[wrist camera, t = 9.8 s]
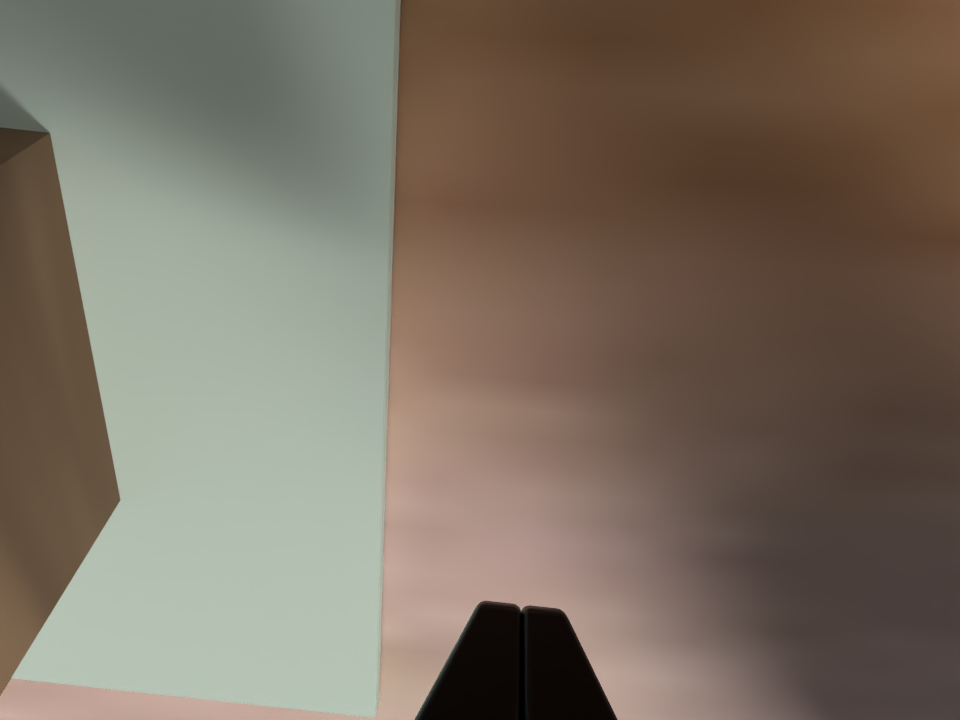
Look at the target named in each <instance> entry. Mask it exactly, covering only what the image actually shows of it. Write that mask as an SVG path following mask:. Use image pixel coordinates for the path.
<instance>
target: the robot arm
mask: <svg viewBox="0 0 960 720" xmlns="http://www.w3.org/2000/svg"><path fill="white" fill-rule="evenodd" d="M415 720H617V718H616V716H615V714H614V711H613V709H612V707H611V705H610V703H609V701H608V699H607V697H606V695H605V693H604V691H603V689H602V687H601V685H600V683H599V681H598V679H597V677H596V675H595V672H594V670H593V668H592V666H591V664H590V662H589V660H588V658H587V656H586V654H585V652H584V650H583V648H582V646H581V644H580V642H579V640H578V638H577V636H576V633H575V631H574V629H573V627H572V625H571V623H570V621H569V619H568V617H567V616H566V614H565V613H564V612H563V611H562V610H560V609H557V608H548V607H538V606H526V607H524V608H523V609H522V610H520V608H519V607H518V606H517V605H515V604H511V603H501V602H492V601H483V602H480V603H479V604H478V605H477V607H476V608H475V610H474V612H473V614H472V616H471V617H470V619H469V621H468V623H467V625H466V627H465V628H464V630H463V632H462V634H461V636H460V638H459V639H458V641H457V643H456V645H455V647H454V649H453V650H452V652H451V654H450V656H449V658H448V660H447V661H446V663H445V665H444V667H443V669H442V671H441V672H440V674H439V676H438V678H437V680H436V681H435V683H434V685H433V687H432V689H431V691H430V692H429V694H428V696H427V698H426V700H425V702H424V703H423V705H422V707H421V709H420V711H419V713H418V714H417V716H416V718H415Z"/></svg>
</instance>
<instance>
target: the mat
mask: <svg viewBox="0 0 960 720" xmlns="http://www.w3.org/2000/svg"><path fill="white" fill-rule="evenodd" d="M400 8H401V0H0V127H2V128H11V129H20V130H29V131H38V132H47V133H50V135H51V140H52V146H53V151H54V156H55V161H56V166H57V172H58V177H59V182H60V187H61V193H62V198H63V203H64V208H65V213H66V219H67V224H68V229H69V234H70V239H71V245H72V250H73V255H74V260H75V266H76V271H77V276H78V281H79V286H80V292H81V297H82V302H83V307H84V312H85V318H86V323H87V328H88V333H89V339H90V344H91V349H92V354H93V359H94V365H95V370H96V375H97V380H98V385H99V391H100V396H101V401H102V406H103V411H104V417H105V422H106V427H107V432H108V438H109V443H110V448H111V453H112V458H113V464H114V469H115V474H116V479H117V484H118V490H119V495H120V502H119V503H118V505H117V507H116V508H115V510H114V512H113V513H112V515H111V516H110V518H109V520H108V521H107V523H106V525H105V526H104V528H103V529H102V531H101V533H100V534H99V536H98V538H97V539H96V541H95V542H94V544H93V546H92V547H91V549H90V551H89V552H88V554H87V555H86V557H85V559H84V560H83V562H82V564H81V565H80V567H79V568H78V570H77V572H76V573H75V575H74V577H73V578H72V580H71V581H70V583H69V585H68V586H67V588H66V590H65V591H64V593H63V595H62V596H61V598H60V599H59V601H58V603H57V604H56V606H55V608H54V609H53V611H52V612H51V614H50V616H49V617H48V619H47V621H46V622H45V624H44V625H43V627H42V629H41V630H40V632H39V634H38V635H37V637H36V638H35V640H34V642H33V643H32V645H31V647H30V648H29V650H28V651H27V653H26V655H25V656H24V658H23V660H22V661H21V663H20V664H19V666H18V668H17V669H16V671H15V673H14V674H13V676H12V677H11V678H13V679H22V680H32V681H41V682H50V683H59V684H68V685H78V686H87V687H96V688H105V689H114V690H123V691H133V692H142V693H151V694H160V695H169V696H178V697H188V698H197V699H206V700H215V701H224V702H234V703H243V704H252V705H261V706H270V707H279V708H289V709H298V710H307V711H316V712H325V713H335V714H344V715H353V716H362V717H371V718H376V713H377V707H378V702H379V681H380V649H381V617H382V585H383V553H384V521H385V489H386V457H387V425H388V393H389V360H390V328H391V296H392V264H393V232H394V200H395V168H396V136H397V104H398V72H399V40H400Z"/></svg>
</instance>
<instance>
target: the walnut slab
mask: <svg viewBox="0 0 960 720" xmlns="http://www.w3.org/2000/svg"><path fill="white" fill-rule="evenodd" d="M119 502H120V495H119V490H118V484H117V479H116V474H115V469H114V464H113V458H112V453H111V448H110V443H109V438H108V432H107V427H106V422H105V417H104V411H103V406H102V401H101V396H100V391H99V385H98V380H97V375H96V370H95V365H94V359H93V354H92V349H91V344H90V339H89V333H88V328H87V323H86V318H85V312H84V307H83V302H82V297H81V292H80V286H79V281H78V276H77V271H76V266H75V260H74V255H73V250H72V245H71V239H70V234H69V229H68V224H67V219H66V213H65V208H64V203H63V198H62V193H61V187H60V182H59V177H58V172H57V166H56V161H55V156H54V151H53V146H52V140H51V135H50V133H47V132H38V131H29V130H20V129H11V128H2V127H0V695H1V694H2V692H3V690H4V689H5V687H6V686H7V684H8V682H9V681H10V679H11V677H12V676H13V674H14V673H15V671H16V669H17V668H18V666H19V664H20V663H21V661H22V660H23V658H24V656H25V655H26V653H27V651H28V650H29V648H30V647H31V645H32V643H33V642H34V640H35V638H36V637H37V635H38V634H39V632H40V630H41V629H42V627H43V625H44V624H45V622H46V621H47V619H48V617H49V616H50V614H51V612H52V611H53V609H54V608H55V606H56V604H57V603H58V601H59V599H60V598H61V596H62V595H63V593H64V591H65V590H66V588H67V586H68V585H69V583H70V581H71V580H72V578H73V577H74V575H75V573H76V572H77V570H78V568H79V567H80V565H81V564H82V562H83V560H84V559H85V557H86V555H87V554H88V552H89V551H90V549H91V547H92V546H93V544H94V542H95V541H96V539H97V538H98V536H99V534H100V533H101V531H102V529H103V528H104V526H105V525H106V523H107V521H108V520H109V518H110V516H111V515H112V513H113V512H114V510H115V508H116V507H117V505H118V503H119Z"/></svg>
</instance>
